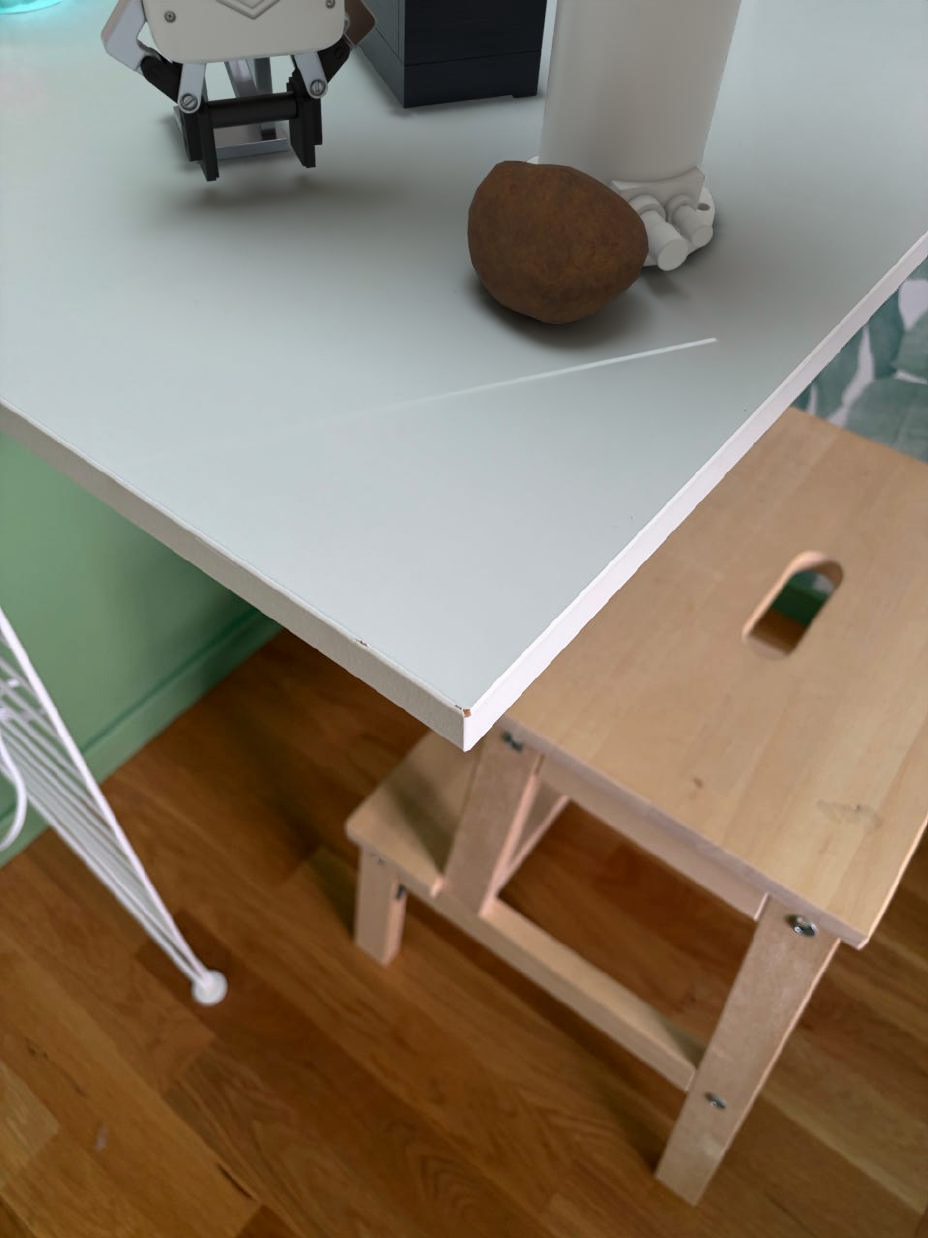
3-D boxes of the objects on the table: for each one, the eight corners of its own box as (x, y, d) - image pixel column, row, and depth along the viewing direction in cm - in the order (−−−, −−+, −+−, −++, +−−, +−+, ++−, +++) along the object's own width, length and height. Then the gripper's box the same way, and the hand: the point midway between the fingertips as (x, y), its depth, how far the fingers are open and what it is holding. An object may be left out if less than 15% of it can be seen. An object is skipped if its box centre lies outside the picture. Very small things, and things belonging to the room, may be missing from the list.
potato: (485, 252, 60) (497, 117, 54) (647, 297, 58) (678, 162, 52) (437, 321, 56) (444, 182, 49) (610, 371, 54) (639, 233, 48)
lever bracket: (288, 153, 66) (276, -16, 58) (195, 166, 64) (169, -7, 56) (264, 110, 69) (249, -56, 61) (175, 121, 67) (148, -48, 60)
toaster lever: (297, 130, 60) (299, 98, 58) (212, 141, 58) (210, 108, 56) (250, -2, 62) (250, -38, 60) (168, 6, 61) (164, -31, 59)
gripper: (34, -193, 42) (121, 217, 56) (423, -205, 47) (413, 176, 61) (11, -243, 46) (97, 150, 61) (371, -250, 51) (372, 116, 65)
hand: (255, 159), depth 61 cm, fingers closed on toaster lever, 5 cm apart
